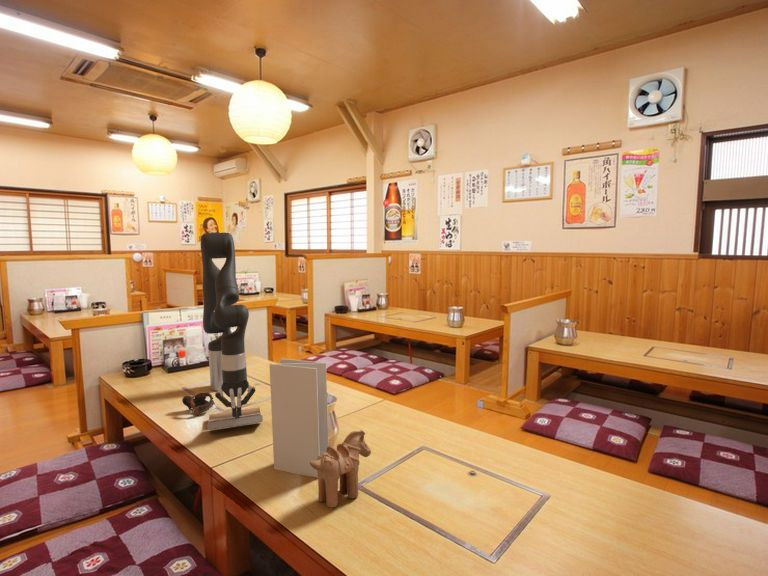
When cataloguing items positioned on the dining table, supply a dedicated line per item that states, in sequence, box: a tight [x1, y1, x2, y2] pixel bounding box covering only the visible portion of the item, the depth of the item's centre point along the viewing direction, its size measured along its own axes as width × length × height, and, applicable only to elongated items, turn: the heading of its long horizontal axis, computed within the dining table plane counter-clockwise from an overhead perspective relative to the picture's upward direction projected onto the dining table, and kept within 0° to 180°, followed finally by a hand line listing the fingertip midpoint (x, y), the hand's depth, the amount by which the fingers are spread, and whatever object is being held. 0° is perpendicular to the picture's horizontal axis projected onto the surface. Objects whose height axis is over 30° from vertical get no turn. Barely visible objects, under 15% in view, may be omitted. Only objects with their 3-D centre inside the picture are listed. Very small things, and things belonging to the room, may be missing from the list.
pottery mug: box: [181, 391, 216, 417], centre depth 157 cm, size 12×10×8 cm
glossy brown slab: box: [208, 407, 262, 423], centre depth 149 cm, size 8×17×2 cm, turn 111°
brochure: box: [269, 358, 329, 479], centre depth 115 cm, size 14×6×30 cm, turn 71°
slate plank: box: [206, 414, 264, 431], centre depth 141 cm, size 7×17×2 cm, turn 110°
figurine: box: [310, 429, 372, 508], centre depth 104 cm, size 7×18×15 cm, turn 132°
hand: (236, 417), depth 138 cm, fingers closed
